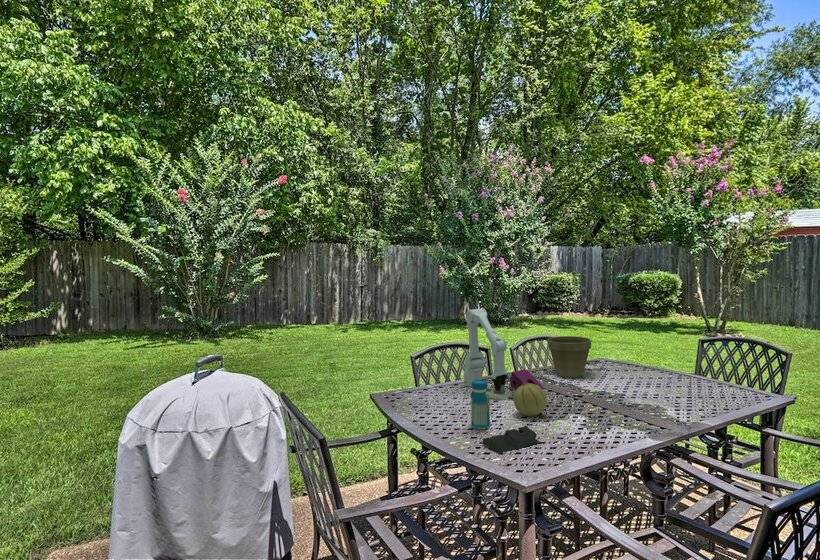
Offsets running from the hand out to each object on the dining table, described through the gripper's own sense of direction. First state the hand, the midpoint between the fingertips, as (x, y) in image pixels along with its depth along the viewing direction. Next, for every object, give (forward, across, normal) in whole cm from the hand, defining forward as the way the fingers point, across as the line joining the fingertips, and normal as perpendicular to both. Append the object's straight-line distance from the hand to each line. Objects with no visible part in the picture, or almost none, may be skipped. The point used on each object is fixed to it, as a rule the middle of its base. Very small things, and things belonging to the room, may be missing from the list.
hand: (499, 389), depth 255 cm
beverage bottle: (+4, -43, -11) cm, 45 cm away
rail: (+4, 0, +5) cm, 7 cm away
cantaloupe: (+4, -19, -24) cm, 31 cm away
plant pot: (+4, +59, -18) cm, 62 cm away
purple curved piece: (+4, +18, -8) cm, 20 cm away
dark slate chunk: (+5, -53, -29) cm, 61 cm away
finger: (+3, 0, 0) cm, 3 cm away
